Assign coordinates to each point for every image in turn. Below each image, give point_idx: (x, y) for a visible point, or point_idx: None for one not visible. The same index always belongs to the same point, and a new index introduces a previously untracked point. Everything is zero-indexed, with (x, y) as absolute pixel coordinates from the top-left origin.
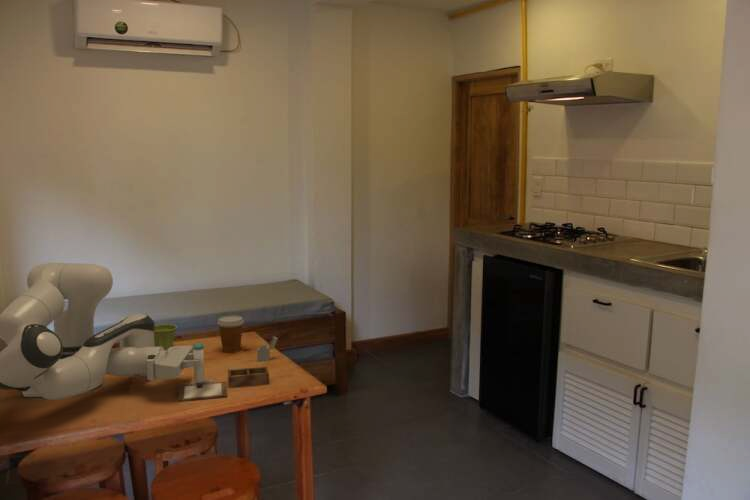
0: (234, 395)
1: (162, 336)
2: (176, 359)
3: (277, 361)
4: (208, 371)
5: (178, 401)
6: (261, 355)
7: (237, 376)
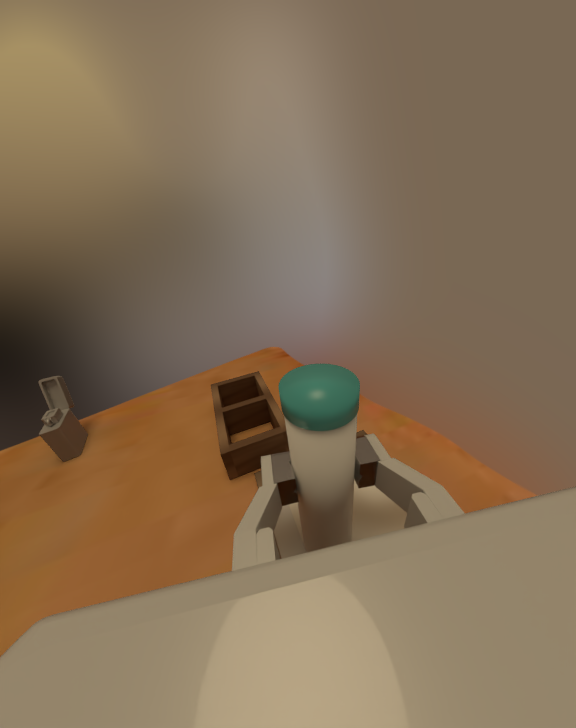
0: None
1: None
2: (544, 575)
3: (112, 417)
4: None
5: None
6: (73, 436)
7: (281, 412)
